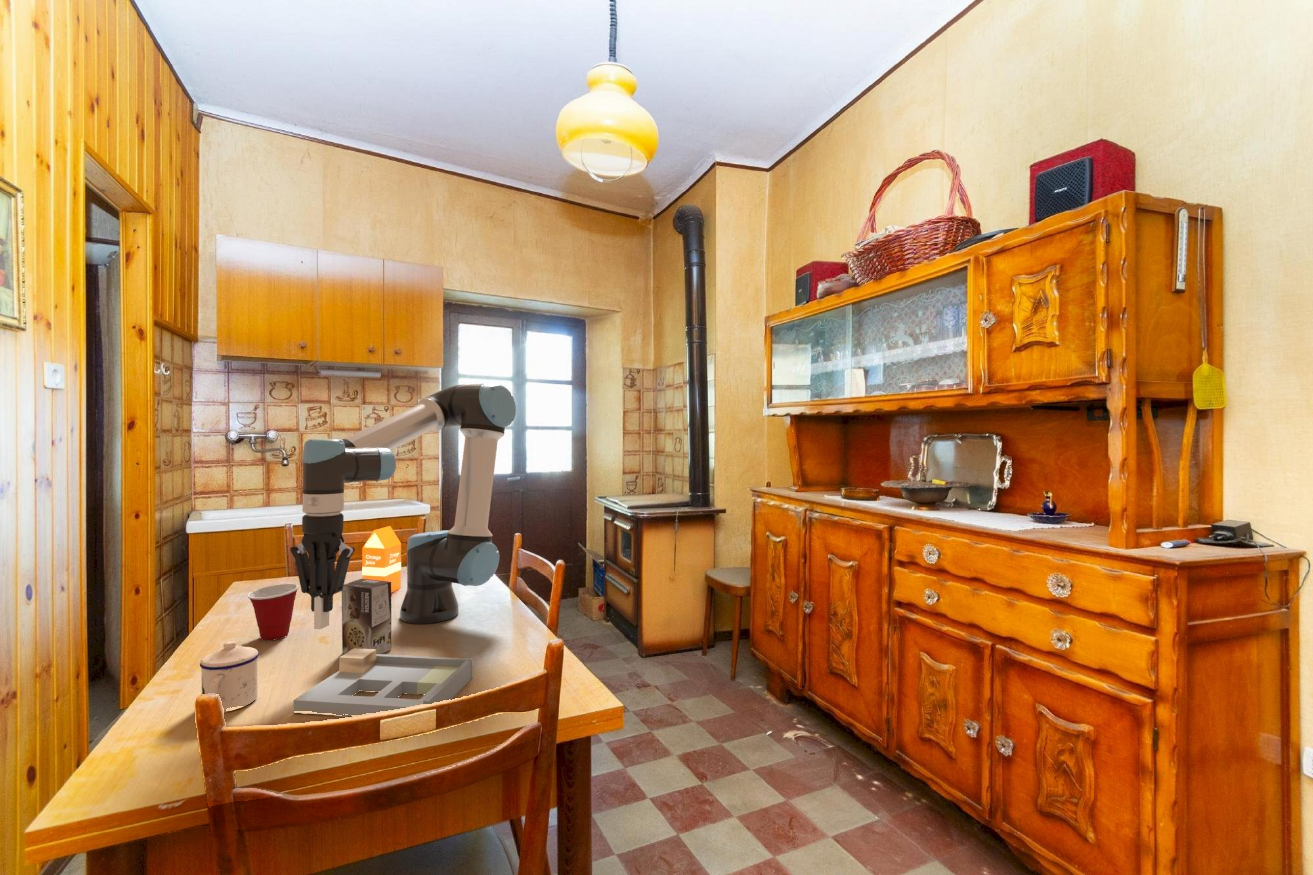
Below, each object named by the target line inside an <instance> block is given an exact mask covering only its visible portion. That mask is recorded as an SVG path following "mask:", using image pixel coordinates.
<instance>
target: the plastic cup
mask: <svg viewBox="0 0 1313 875" xmlns="http://www.w3.org/2000/svg"><path fill="white" fill-rule="evenodd" d="M298 590H299V584H296V583H289V582H288V583H278V584H271V585H267V586H263V587H260V588H259V587H258V588H257V589H254V590H252V591H250V592H248V594H246V596H247V598H248V599H249V600H250V602H251V605H252V608H253V611H254V615H255V620H256V625H257V628H258V631H259V637H260V639H263V640H262V641H266V640H270V641H275V640H274V639H277V640H280V638H281V639H283V638H282V637H284V638H286V637H288V636H289V633H290V629H291V628H290V627H291V622H292V616H293V612H294V605H295V600H296V596H297V592H298ZM285 636H286V637H285Z"/></svg>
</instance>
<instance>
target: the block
mask: <svg viewBox="0 0 1313 875" xmlns="http://www.w3.org/2000/svg"><path fill="white" fill-rule="evenodd" d="M338 660H339V661H338V662H339V664H338V666H339V668H338V671H339V672H350V673H364V672H365V671H366V670H368V669H369V668H371V667H372V666H374V665H375V664H376V649H358V648H354V649H352V650H350V651H349V652H347V653H346V654H342V655H341V656H339V658H338Z"/></svg>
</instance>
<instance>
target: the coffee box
mask: <svg viewBox="0 0 1313 875" xmlns="http://www.w3.org/2000/svg"><path fill="white" fill-rule="evenodd" d="M391 583H392V582H390V581H380V580H371V579H362V578H360V579H357V580H353V581H350V582H348V583H344V586H343V589H342V591H341V645H342V646H341V648H342V649H341V650H342V652H341V654H342V653H344V654H346V653H347V652H349V651H350V650H352V649H354V648H358V649H376V654H385V653H386V652H390V651H391V650H392V592H391ZM344 654H343V655H344Z"/></svg>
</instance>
